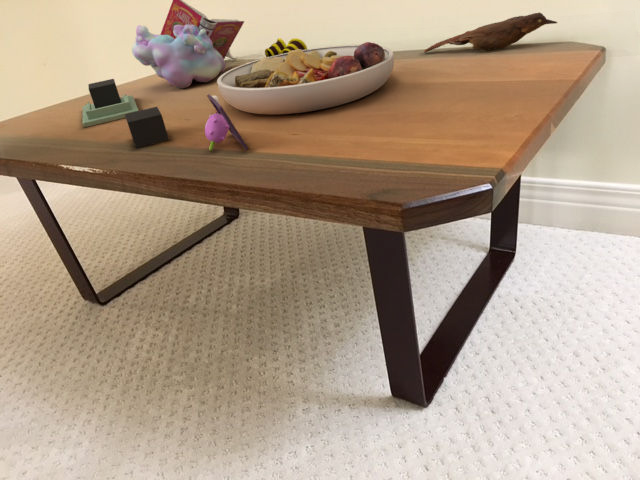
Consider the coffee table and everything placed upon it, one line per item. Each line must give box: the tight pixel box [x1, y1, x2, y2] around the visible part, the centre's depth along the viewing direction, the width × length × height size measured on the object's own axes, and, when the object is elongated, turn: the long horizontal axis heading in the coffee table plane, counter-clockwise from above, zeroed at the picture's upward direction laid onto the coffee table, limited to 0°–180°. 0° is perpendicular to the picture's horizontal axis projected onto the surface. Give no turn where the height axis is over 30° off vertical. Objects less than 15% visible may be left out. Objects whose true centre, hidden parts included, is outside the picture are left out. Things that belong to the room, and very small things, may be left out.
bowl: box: [216, 41, 395, 115], centre depth 92 cm, size 30×30×8 cm
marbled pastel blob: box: [131, 0, 245, 89], centre depth 118 cm, size 20×22×18 cm
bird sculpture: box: [423, 12, 558, 54], centre depth 103 cm, size 7×25×5 cm, turn 68°
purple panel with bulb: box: [204, 93, 249, 152], centre depth 73 cm, size 7×5×9 cm
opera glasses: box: [264, 38, 308, 57], centre depth 123 cm, size 10×5×5 cm, turn 44°
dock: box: [82, 78, 140, 128], centre depth 104 cm, size 10×16×5 cm, turn 22°
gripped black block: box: [125, 106, 170, 149], centre depth 83 cm, size 5×6×4 cm
